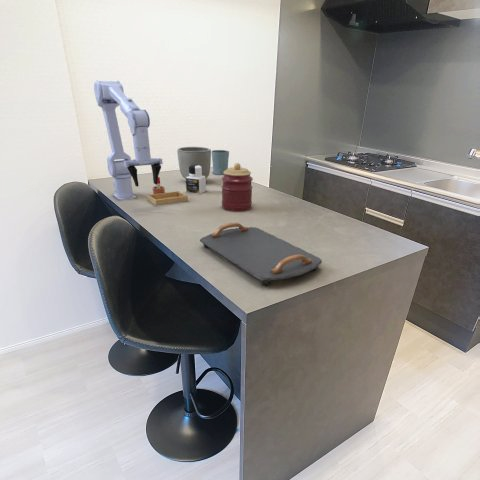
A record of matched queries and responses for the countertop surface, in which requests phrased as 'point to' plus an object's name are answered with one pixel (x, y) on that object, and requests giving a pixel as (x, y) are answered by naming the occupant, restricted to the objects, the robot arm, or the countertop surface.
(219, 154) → the blue tapered pot
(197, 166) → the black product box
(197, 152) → the planter
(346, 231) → the countertop surface
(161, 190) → the cup
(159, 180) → the marker
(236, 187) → the kitchen canister
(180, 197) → the tray
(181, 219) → the countertop surface
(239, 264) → the serving tray
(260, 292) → the countertop surface
